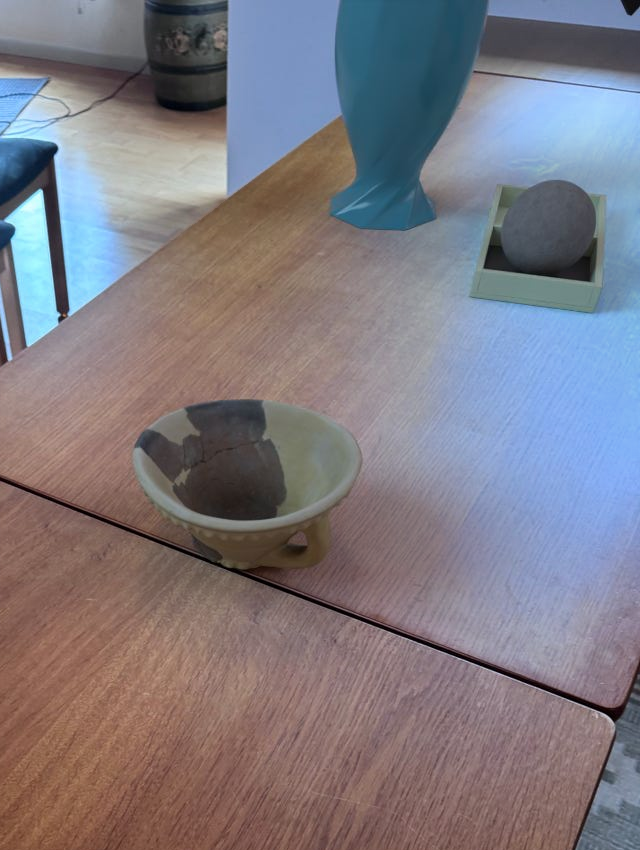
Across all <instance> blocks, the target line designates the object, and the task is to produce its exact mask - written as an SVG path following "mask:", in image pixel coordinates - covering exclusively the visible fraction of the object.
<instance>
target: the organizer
mask: <svg viewBox="0 0 640 850" xmlns="http://www.w3.org/2000/svg"><path fill="white" fill-rule="evenodd" d="M530 187H531V186H523V185H514V184H504V183H503V184H502V183H496V186H495V191H494V193H493V194H494V195H493V199H492V202H491V205H490V211H489V214H488V218H487V222H486V227H485V230H484V234H483V237H482V242H481V246H480V250H479V254H478V257H477V261H476V265H475V270H474V274H473V277H472V282H471V286H470V290H469V295H468V296H469V298H476V299H484V300H489V301H491V300H492V301H498V302H508V303H514V304H520V305H529V306H534V307H535V306H536V307H543V308H551V309H559V310H566V311H574V312H581V313H589V314H593V313H594V312H595V309H596V306H597V304H598V301H599V298H600V295H601V292H602V289H603V277H604V258H605V239H606V238H605V237H606V236H605V235H606V214H607V194H601V193H591V192H586V193H587V194H588V196H589V197H590V199H591V200H592V202H593V205H594V208H595V212H596V229H595V233H594V236H593V239H592V241H591V243H590V245H589V247H588V249H587V250H586V252H585V253H584V254H583V256H582V257H581V258H580V259H579V260H578V261H577V262H576V263H575V264H573V265H572V266H570V267H569V268H567V269H566V270H564V271H562V272H559V273H557V274H553V275H549V276H537V275H529V274H526V273H523V272H521V271H520V270H518V269H517V268H515V267H514V266H513V265H512V264H511V263H510V261H509V260H508V259H507V257H506V255H505V253H504V251H503V248H502V243H501V229H502V224H503V220H504V217H505V215H506V213H507V211H508V209H509V208H510V206H511V205H512V203H513V202H514V201H515V200H516V199H517V197H518V196H519V195H521V194H522V193H523V192H524V191H525V190H527V189H529V188H530Z"/></svg>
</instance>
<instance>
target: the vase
mask: <svg viewBox="0 0 640 850" xmlns="http://www.w3.org/2000/svg"><path fill="white" fill-rule="evenodd" d="M489 7H490V0H339V1H338V7H337V15H336V21H335V22H336V23H335V35H334V75H335V76H334V77H335V84H336V93H337V98H338V103H339V107H340V112H341V117H342V121H343V124H344V128H345V132H346V137H347V139H348V143H349V146H350V148H351V152H352V156H353V160H354V164H355V177H354V180H353V181H352V183H351V184H350V185H348V186H347V187H346V188H344V189H342V190H341V191H339V192H338V193H336V194H335V195H333V196H331V197H330V207H329V208H330V209H329V212H328V214H329V215H330V216H332V217H335V218H336V219H339V220H342V221H344V222H345V223H348V224H350V225H352V226H354V227H356V228H358V229H364V230H365V229H368V230H369V229H372V230H395V231H407V230H409V229H411V228H415V227H417V226H420V225H423V224H425V223H428V222H430V221H434V220H437V215H436V206H435V203H436V202H435V201H434V199H432V198H431V197H430V196H429V195H428V194H427V193H425V191H424V188H423V185H422V183H421V180H420V177H421V173H422V170H423V168H424V166H425V163H426V162H427V160H428V159H429V156H430V155H431V153H432V152H433V151H434V150H435V148H436V146H437V145H438V143H439V141H440V140H441V139H442V137H443V136H444V134H445V132H446V131H447V129H448V127H449V126H450V124H451V122H452V120H453V118H454V117H455V115H456V113H457V111H458V109H459V107H460V105H461V103H462V100H463V98H464V97H465V94H466V92H467V90H468V87H469V84H470V82H471V79H472V77H473V74H474V71H475V68H476V66H477V62H478V60H479V55H480V51H481V48H482V44H483V40H484V36H485V32H486V26H487V22H488V21H487V20H488V16H489V15H488V14H489Z"/></svg>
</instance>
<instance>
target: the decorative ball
mask: <svg viewBox="0 0 640 850" xmlns="http://www.w3.org/2000/svg"><path fill="white" fill-rule="evenodd" d="M529 187H530V188H529V189H527V190H525V191H524V192H523V193H522V194H521V195H519V196H518V197H517V199H516V200H515V201H514V202H513V203H512V205H511V206H510V208H509V209H508V211H507V213H506V215H505V217H504V220H503V224H502V229H501V243H502V248H503V251H504V253H505V255H506V257H507V259H508V260H509V261H510V263H511V264H512V265H513V266H514V267H515V268H517V269H518V270H520V271H521V272H523V273H526V274H529V275H537V276H549V275H553V274H557V273H559V272H562V271H564V270H566V269H567V268H569V267H570V266H572V265H573V264H575V263H576V262H577V261H578V260H579V259H580V258H581V257H582V256H583V254H584V253H585V252H586V250H587V249H588V247H589V245H590V243H591V241H592V239H593V236H594V233H595V229H596V212H595V208H594V205H593V202H592V200H591V199H590V197H589V196H588V194H587V193H588V192H586V191H585V190H584V189H583V188H582V187H580V186H579V185H577V184H576V183H573V182H571V181H568V180H563V179H549V180H544V181H541V182H539V183H536V184H534V185H532V186H529Z"/></svg>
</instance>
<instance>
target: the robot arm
mask: <svg viewBox="0 0 640 850" xmlns="http://www.w3.org/2000/svg"><path fill="white" fill-rule="evenodd" d="M620 2H621V4H622V7H623V9H624V11H625V13H626V15H627V16H629V17H632V16H633V15H634V14H635V13H636V12H637V11H638V10H639V9H640V0H620Z"/></svg>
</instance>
